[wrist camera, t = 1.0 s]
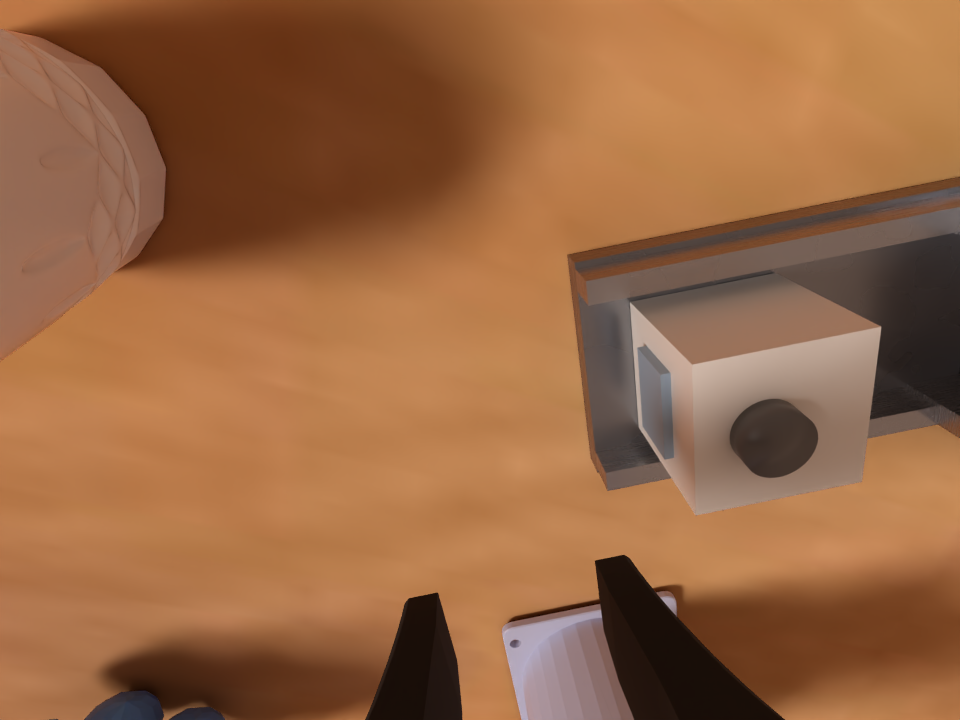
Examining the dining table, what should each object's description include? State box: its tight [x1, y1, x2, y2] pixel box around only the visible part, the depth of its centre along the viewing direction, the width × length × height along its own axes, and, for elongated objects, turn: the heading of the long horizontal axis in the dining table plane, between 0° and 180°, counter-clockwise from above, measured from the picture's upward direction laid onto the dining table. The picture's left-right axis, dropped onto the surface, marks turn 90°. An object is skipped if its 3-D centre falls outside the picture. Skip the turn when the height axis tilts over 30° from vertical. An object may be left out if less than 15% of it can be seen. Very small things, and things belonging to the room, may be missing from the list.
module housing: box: [567, 177, 960, 491], centre depth 19 cm, size 13×19×6 cm
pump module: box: [630, 273, 881, 515], centre depth 18 cm, size 5×5×6 cm
